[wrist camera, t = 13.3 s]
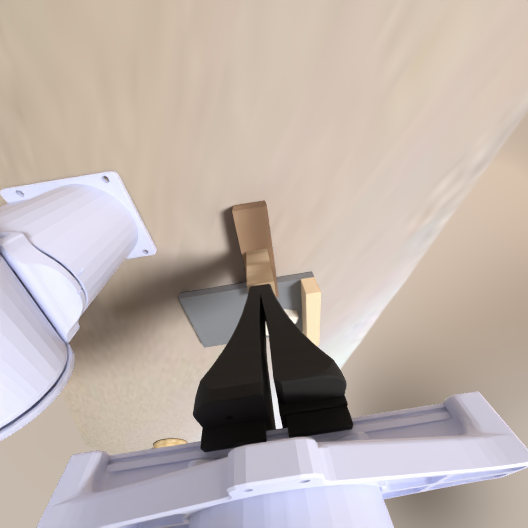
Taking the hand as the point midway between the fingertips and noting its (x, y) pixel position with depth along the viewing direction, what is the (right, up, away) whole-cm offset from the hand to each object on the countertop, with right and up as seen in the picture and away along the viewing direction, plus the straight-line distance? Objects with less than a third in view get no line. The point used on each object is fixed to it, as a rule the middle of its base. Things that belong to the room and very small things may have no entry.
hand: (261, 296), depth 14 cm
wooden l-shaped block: (-1, +4, +8) cm, 9 cm away
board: (-1, -4, +14) cm, 15 cm away
